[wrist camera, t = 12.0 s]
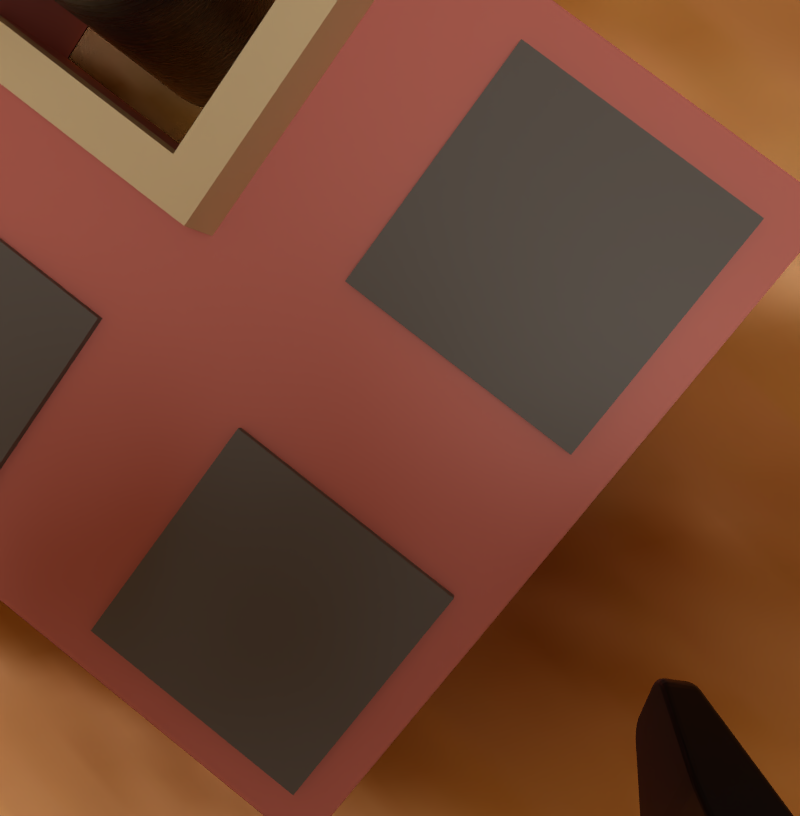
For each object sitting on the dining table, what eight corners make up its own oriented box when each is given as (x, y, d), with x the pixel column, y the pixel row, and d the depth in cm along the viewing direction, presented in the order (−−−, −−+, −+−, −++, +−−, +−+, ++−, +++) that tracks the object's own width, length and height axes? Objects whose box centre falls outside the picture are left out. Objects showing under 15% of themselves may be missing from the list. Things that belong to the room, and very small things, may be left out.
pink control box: (332, 775, 21) (286, 894, 16) (-169, 370, 21) (-343, 378, 17) (780, 230, 18) (872, 194, 14) (188, -208, 19) (92, -378, 14)
